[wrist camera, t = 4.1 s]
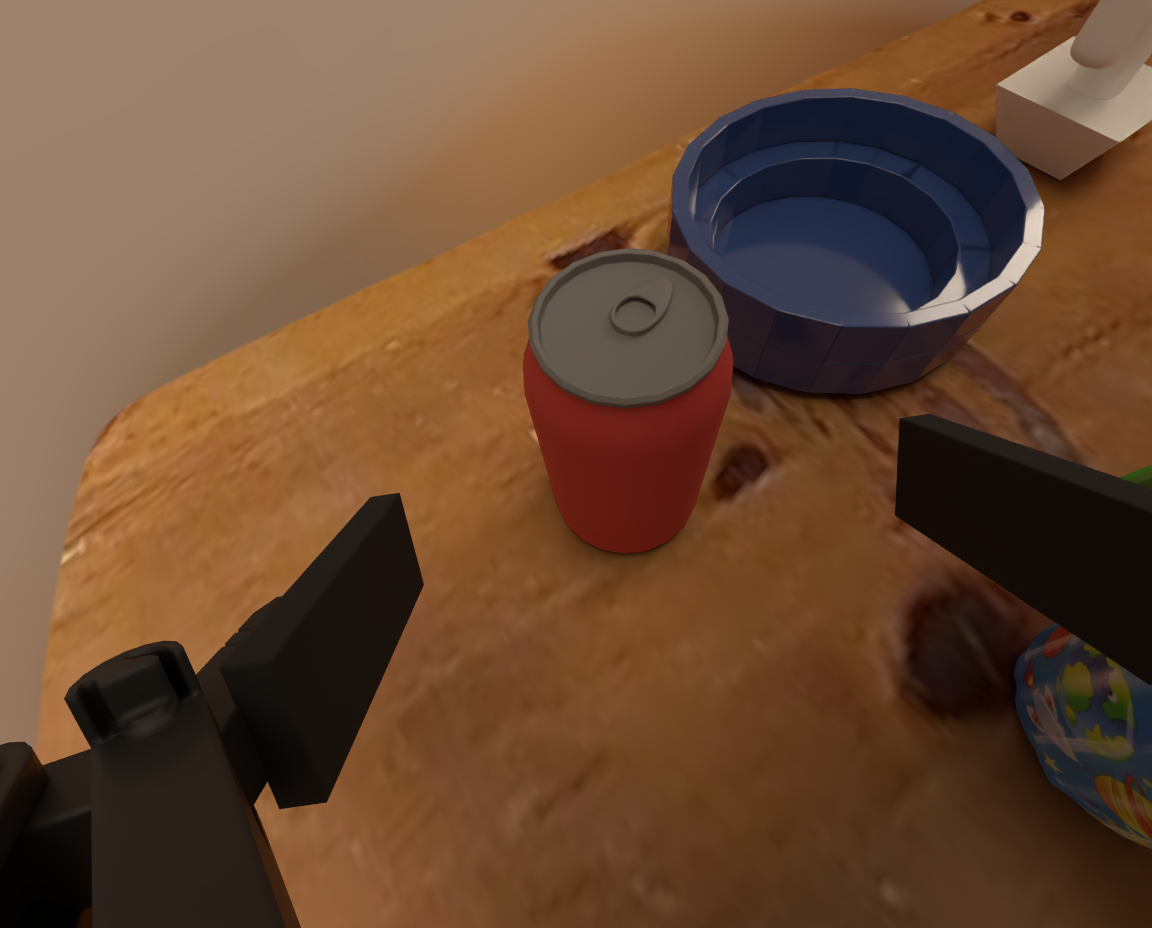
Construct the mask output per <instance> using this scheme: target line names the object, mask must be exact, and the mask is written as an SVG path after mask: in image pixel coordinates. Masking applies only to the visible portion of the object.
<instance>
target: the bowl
mask: <svg viewBox="0 0 1152 928" xmlns="http://www.w3.org/2000/svg"><path fill="white" fill-rule="evenodd" d="M1044 214H1045V207H1044V205H1043V202H1042V200H1041V198H1040V195H1039V193H1038V191H1037V188H1036V186H1035V184H1034V181H1033V179H1032V177H1031V174H1030V172H1029V171H1028V169H1027V168H1026V167H1025V166H1024V165H1023V164H1022V163H1021V162H1020V161H1019V160H1018V159H1017V158H1016V157H1015V156H1014V155H1013V154H1012V153H1011V152H1010V151H1009V150H1008V149H1007V148H1006V147H1005V146H1004V145H1003V144H1002V143H1001V142H1000V141H999V140H998V138H996V137H995V136H993V135H992V134H990V133H988V132H986V131H985V130H983V129H981V128H980V127H978V126H976V125H975V124H973V123H971V122H969V121H968V120H966V119H964V118H963V117H961V116H959V115H958V114H956V113H952V112H950V111H947V110H945V109H942V108H939V107H936V106H933V105H930V104H927V103H924V102H921V101H918V100H915V99H912V98H909V97H906V96H905V97H904V96H902V95H895V94H888V93H881V92H874V91H867V90H860V89H852V88H847V89H815V90H803V91H802V90H800V91H796V92H792V93H787V94H783V95H778V96H774V97H769V98H765V99H760V100H757V101H754V102H752V103H749V104H747V105H745V106H743V107H741V108H739V109H737V110H735V111H733V112H730V113H728V114H726V115H724V116H722V117H720V118H718V119H717V120H716V121H715V122H714V123H713V124H711V125H710V126H709V127H708V128H707V129H706V130H705V131H704V132H702V133H701V134H700V135H699V136H698V137H697V138H696V139H695V140H693V141H692V142H691V143H690V144H689V145H688V147H687V149H686V151H685V153H684V155H683V157H682V159H681V161H680V163H679V165H678V167H677V169H676V171H675V173H674V175H673V177H672V188H671V200H670V211H669V222H668V233H667V245H666V255H669V256H672V257H675V258H678V259H681V260H684V261H685V262H687V263H688V264H689V265H691V266H692V267H694V268H695V269H697V270H698V271H700V272H701V273H703V274H704V275H706V276H707V278H708V279H709V280H710V281H711V283H712V284H713V285H714V287H715V288H716V289H717V290H718V292H719V293H720V294H721V296H722V299H723V302H724V305H725V309H726V312H727V315H728V319H729V322H728V330H727V336H728V340H729V343H730V347H731V350H732V356H733V366H734V367H736V368H737V369H739V370H741V371H743V372H744V373H746V374H748V375H750V376H751V377H754V378H755V379H759V380H762V381H766V382H769V383H773V384H777V385H780V386H784V387H787V388H791V389H794V390H798V391H802V392H805V393H806V392H808V393H845V394H865V393H869V392H873V391H877V390H881V389H886V388H890V387H894V386H898V385H902V384H906V383H910V382H913V381H916V380H917V379H919V378H920V377H922V376H924V375H925V374H927V373H928V372H930V371H932V370H933V369H935V368H936V367H938V366H940V365H941V364H943V363H944V362H946V361H948V360H949V359H951V358H952V357H953V356H954V355H955V354H956V353H957V352H958V351H959V350H960V349H961V348H962V346H963V345H964V344H965V343H966V342H967V341H968V340H969V339H970V337H971V336H972V335H973V334H974V333H975V332H976V331H977V329H978V328H979V327H980V326H981V325H982V324H983V323H984V322H985V320H986V319H987V318H988V317H989V316H990V315H991V314H992V313H993V311H994V310H995V309H996V308H997V307H998V306H999V305H1000V304H1001V302H1002V301H1003V300H1004V299H1005V298H1006V297H1007V296H1008V294H1009V293H1010V292H1011V291H1012V290H1013V289H1014V288H1015V287H1016V285H1017V284H1018V283H1019V281H1020V280H1021V278H1022V277H1023V275H1024V274H1025V272H1026V271H1027V270H1028V268H1029V267H1030V265H1031V264H1032V262H1033V261H1034V259H1035V258H1036V257H1037V255H1038V254H1039V252H1040V251H1041V248H1042V238H1043V226H1044Z"/></svg>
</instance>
